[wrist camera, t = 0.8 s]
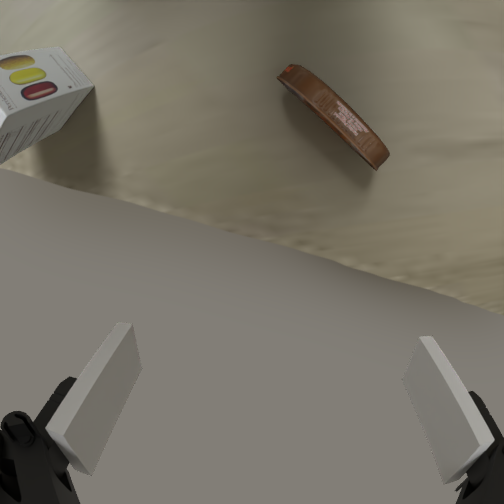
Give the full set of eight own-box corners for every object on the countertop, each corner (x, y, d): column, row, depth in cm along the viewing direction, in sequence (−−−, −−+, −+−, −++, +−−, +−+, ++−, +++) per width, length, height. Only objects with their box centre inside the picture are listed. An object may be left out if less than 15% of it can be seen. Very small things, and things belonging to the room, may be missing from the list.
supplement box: (96, 85, 31) (9, 118, 18) (60, 132, 35) (-20, 183, 21) (58, 44, 27) (-33, 61, 13) (25, 92, 30) (-58, 128, 17)
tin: (273, 77, 31) (275, 82, 24) (291, 58, 30) (298, 58, 23) (361, 158, 36) (382, 184, 30) (377, 142, 35) (403, 165, 28)
